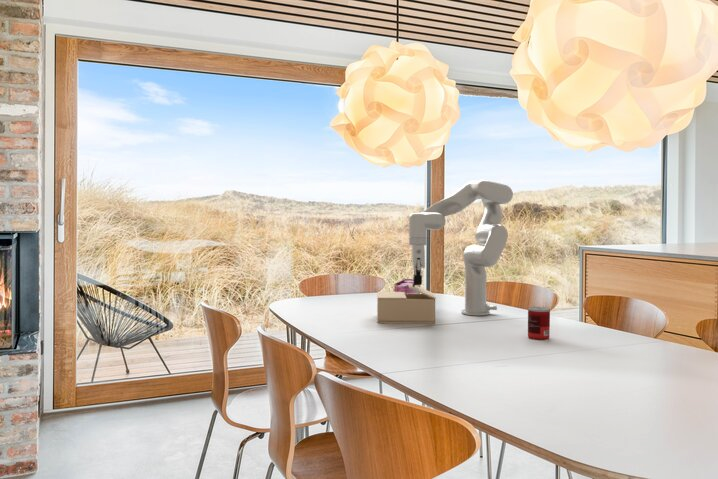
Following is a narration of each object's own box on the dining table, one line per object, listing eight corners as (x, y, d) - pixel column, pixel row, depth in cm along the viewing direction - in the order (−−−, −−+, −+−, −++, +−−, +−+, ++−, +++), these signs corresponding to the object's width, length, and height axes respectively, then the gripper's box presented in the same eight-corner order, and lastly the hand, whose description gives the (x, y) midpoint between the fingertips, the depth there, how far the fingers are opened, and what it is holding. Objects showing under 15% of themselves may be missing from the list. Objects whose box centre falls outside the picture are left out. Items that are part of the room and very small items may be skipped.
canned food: (548, 336, 212) (549, 307, 211) (550, 340, 204) (550, 310, 203) (527, 335, 214) (527, 306, 213) (527, 339, 206) (528, 309, 206)
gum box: (409, 314, 258) (409, 285, 257) (392, 313, 260) (392, 284, 260) (420, 306, 281) (420, 279, 280) (404, 305, 283) (404, 278, 283)
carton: (430, 315, 255) (431, 292, 254) (435, 323, 237) (435, 297, 236) (377, 315, 255) (377, 291, 255) (377, 323, 237) (377, 297, 237)
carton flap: (431, 293, 254) (436, 280, 254) (435, 299, 237) (441, 285, 236) (407, 283, 254) (412, 270, 254) (409, 288, 237) (415, 274, 236)
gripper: (428, 242, 236) (428, 286, 237) (424, 240, 253) (424, 282, 253) (410, 242, 236) (410, 286, 237) (408, 240, 253) (407, 281, 254)
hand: (417, 283), depth 245 cm, fingers closed on carton flap, 3 cm apart
